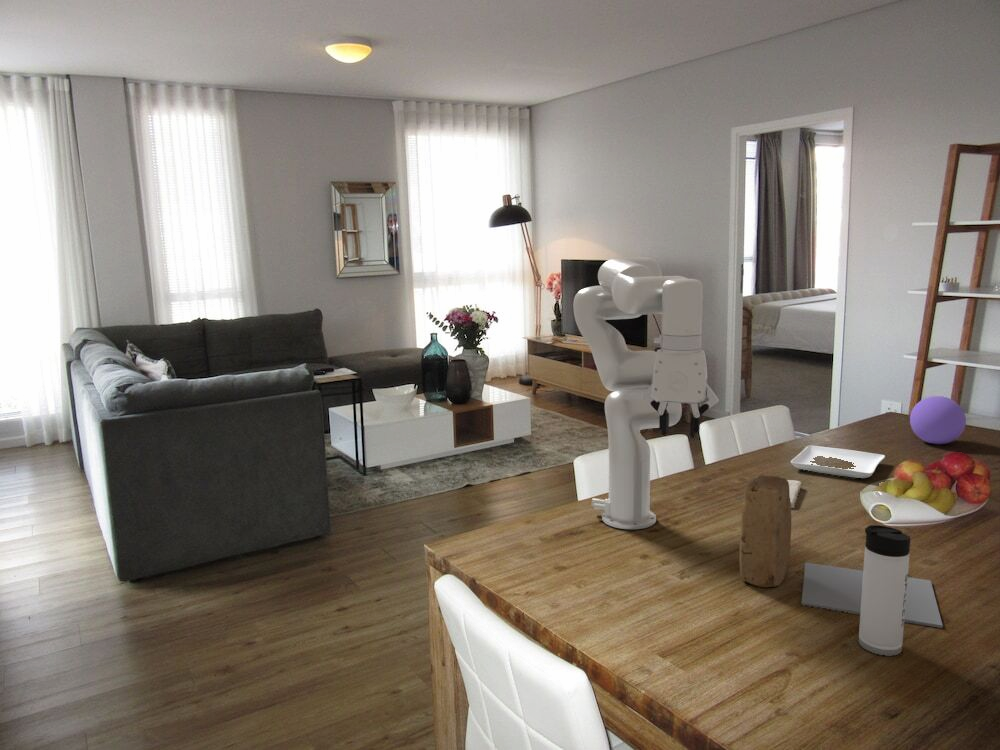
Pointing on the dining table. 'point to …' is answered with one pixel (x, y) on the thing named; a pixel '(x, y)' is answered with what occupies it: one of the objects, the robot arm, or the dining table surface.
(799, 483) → the washcloth
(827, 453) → the salad plate
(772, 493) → the block
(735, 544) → the dining table surface
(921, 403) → the decorative ball
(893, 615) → the travel mug
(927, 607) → the mat
